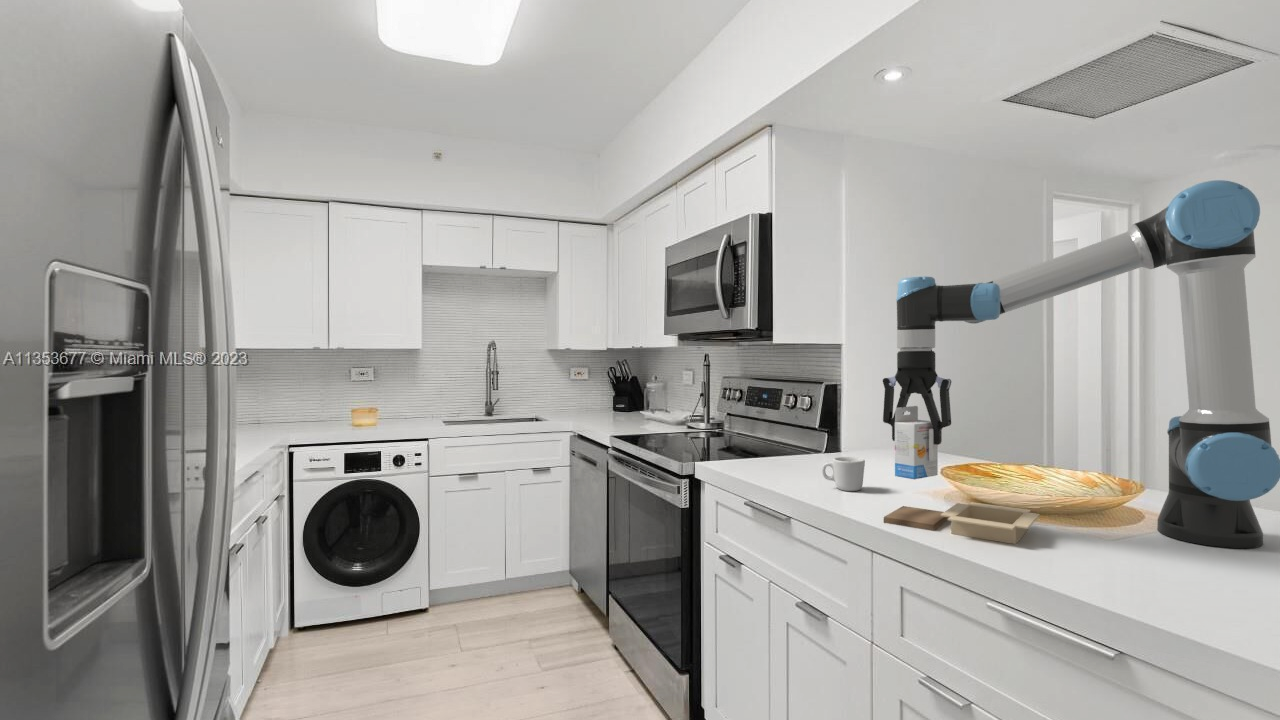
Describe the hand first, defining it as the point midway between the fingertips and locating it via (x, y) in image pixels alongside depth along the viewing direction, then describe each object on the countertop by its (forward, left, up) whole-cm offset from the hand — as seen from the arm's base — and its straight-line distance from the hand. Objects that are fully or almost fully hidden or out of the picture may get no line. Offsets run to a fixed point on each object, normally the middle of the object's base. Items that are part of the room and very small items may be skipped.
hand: (916, 457), depth 138 cm
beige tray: (-14, 0, -13) cm, 20 cm away
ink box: (0, 0, -4) cm, 4 cm away
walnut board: (0, 0, -13) cm, 13 cm away
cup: (+25, -20, -14) cm, 35 cm away
